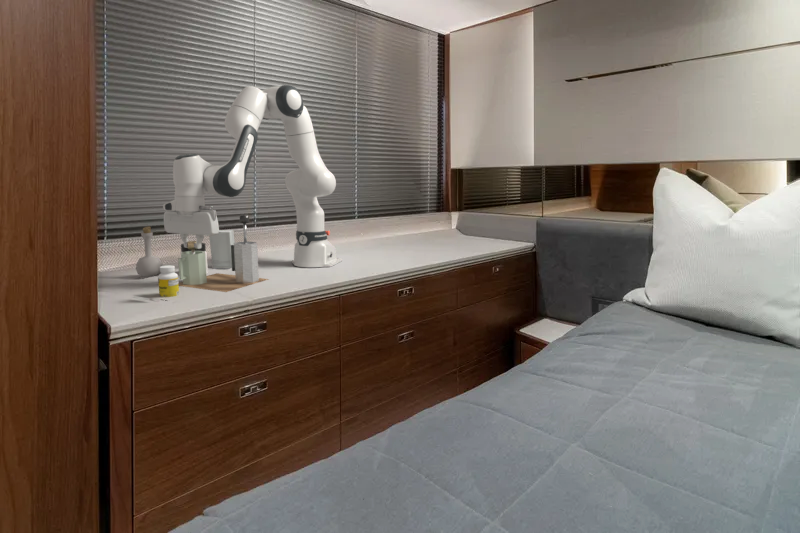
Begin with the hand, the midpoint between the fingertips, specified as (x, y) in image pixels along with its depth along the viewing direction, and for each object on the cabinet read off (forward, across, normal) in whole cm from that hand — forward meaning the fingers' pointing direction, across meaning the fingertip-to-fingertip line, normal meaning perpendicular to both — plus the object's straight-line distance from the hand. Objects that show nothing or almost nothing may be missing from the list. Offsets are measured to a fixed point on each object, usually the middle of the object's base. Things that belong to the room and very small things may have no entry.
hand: (192, 248), depth 162 cm
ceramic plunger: (+8, 0, 0) cm, 8 cm away
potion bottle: (+13, +25, -4) cm, 28 cm away
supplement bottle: (+13, -6, +16) cm, 21 cm away
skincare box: (+13, +14, -29) cm, 35 cm away
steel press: (+11, -13, -9) cm, 19 cm away
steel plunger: (0, -14, -9) cm, 17 cm away
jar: (+13, +11, -11) cm, 20 cm away
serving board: (+13, -7, -5) cm, 15 cm away
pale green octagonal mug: (+12, 0, +1) cm, 12 cm away
